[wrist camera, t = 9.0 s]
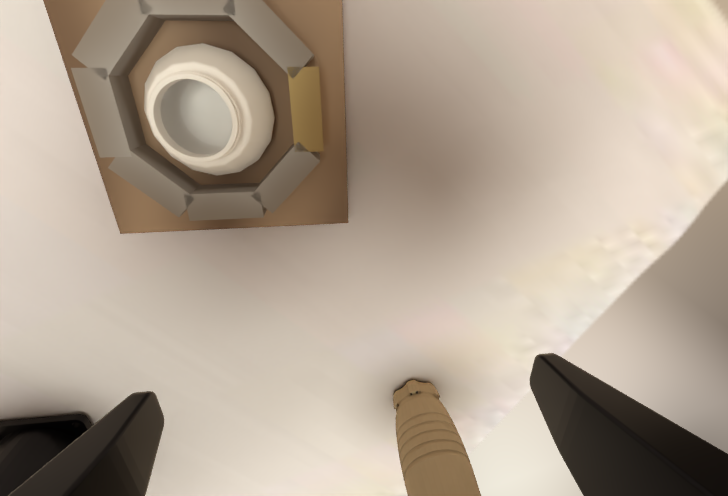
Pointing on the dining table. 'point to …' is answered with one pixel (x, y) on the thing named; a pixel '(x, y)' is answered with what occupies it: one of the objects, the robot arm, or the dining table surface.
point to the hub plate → (274, 67)
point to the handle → (430, 445)
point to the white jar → (208, 109)
